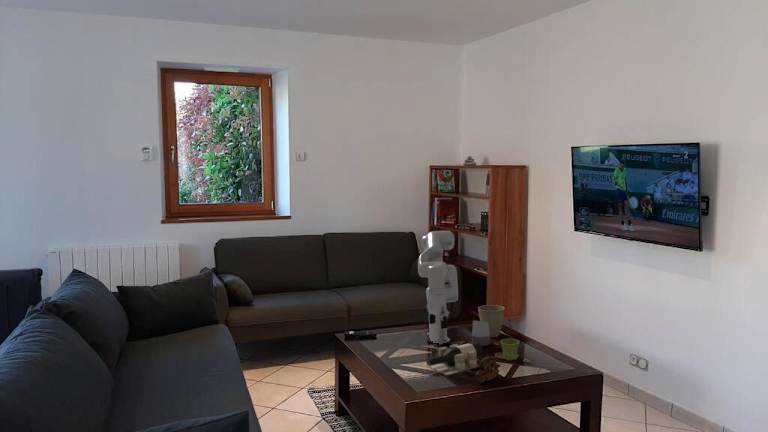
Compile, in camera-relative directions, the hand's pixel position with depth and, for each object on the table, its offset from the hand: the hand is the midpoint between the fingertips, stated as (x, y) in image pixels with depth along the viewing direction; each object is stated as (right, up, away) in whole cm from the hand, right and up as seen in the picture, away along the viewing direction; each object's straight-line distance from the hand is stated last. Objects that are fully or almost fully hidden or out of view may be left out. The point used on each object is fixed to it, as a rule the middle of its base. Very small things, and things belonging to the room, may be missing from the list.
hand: (438, 325), depth 277 cm
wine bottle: (+21, -14, +11) cm, 27 cm away
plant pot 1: (+35, -15, +51) cm, 64 cm away
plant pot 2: (+37, -18, +10) cm, 42 cm away
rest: (+8, -20, +3) cm, 22 cm away
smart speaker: (+26, -17, +34) cm, 47 cm away
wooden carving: (+21, -21, -17) cm, 34 cm away
